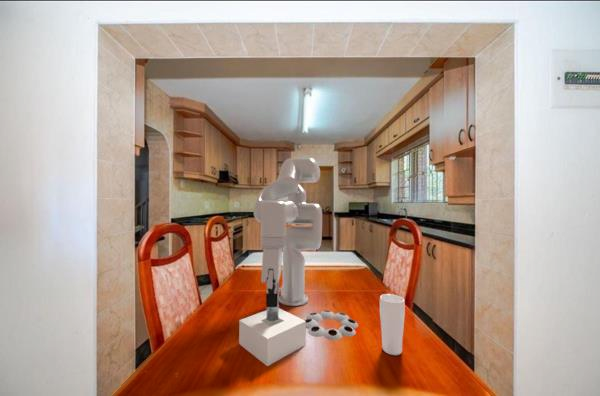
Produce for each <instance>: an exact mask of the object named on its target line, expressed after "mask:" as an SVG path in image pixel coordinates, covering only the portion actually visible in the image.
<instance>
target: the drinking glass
mask: <svg viewBox="0 0 600 396" xmlns="http://www.w3.org/2000/svg"><path fill="white" fill-rule="evenodd" d="M405 304H406V302H405V298H404V297H403V296H400V295H397V294H393V293H384V294H381V295H380V296H379V317H380V330H381V349H382V350H383V352H385V353H387V354H388V355H391V356H399V355H400V354H402V353H403V339H404V338H403V337H404V328H405V327H404V325H405V318H406V317H405V316H406V314H405V313H406V309H405V308H406V306H405Z"/></svg>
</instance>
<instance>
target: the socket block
mask: <svg viewBox="0 0 600 396" xmlns="http://www.w3.org/2000/svg"><path fill="white" fill-rule="evenodd" d="M266 311H267V309H266V310H263V311H260V312H257V313H255V314H252V315H250V316H247V317H245V318H241V319H239V322H238V323H239V325H238V326H239V328H238V329H239V331H238V332H239V333H238V335H239V336H238V344H239V345H240V346H241V347H243V348H244V349H245V350H246V351H247V352H249V353H250V354H252V356H254V357H255V358H256V359H257V360H259V361H260V362H261V363H263V364H264V365H265V366H267V367H269V366H271V365H273V364H274V363H276V362H278V361H280V360H282V359H283V358H285V357H286V356H289V355H291V354H292V353H294V352H296V351H297V350H299V349H301V348H303V347H304V346H305V345H306V342H307V341H306V340H307V339H306V337H307V336H306V335H307V330H306V329H307V328H306V323H307V321H304V320H305V319H302V318H301V317H298V316H296V315H295V314H292V313H290V312H289V311H285V310H284V309H282V308H280V307H279V318H278V320H276V321H268V320H267V319H266Z"/></svg>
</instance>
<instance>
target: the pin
mask: <svg viewBox="0 0 600 396" xmlns="http://www.w3.org/2000/svg"><path fill="white" fill-rule="evenodd" d="M273 282H275V280H273ZM273 286H274V287H275V285H273ZM279 288H280V281H279V282H278V283H277V292H276V293H278V295H277V307H266V310H267V311H266V310H265V311H266V319H267V320H268V321H276V320H278V318H279V308H280V305H279V303H280V302H279V297H280V291H279Z"/></svg>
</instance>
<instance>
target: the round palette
mask: <svg viewBox="0 0 600 396" xmlns="http://www.w3.org/2000/svg"><path fill="white" fill-rule="evenodd" d="M323 319H325V320H331V319H333V320H334V321H337V322H340V325H341V326H340V327H339V328H338V329H336V328H328V329H326V330H325V328H324V327H323V326H321V325H319V323H318V322H321V321H323ZM303 320H304V321H306V329H308V330H307V333H308V334H309V335H310V336H312V337H315V338H316V337H324V338H326V339H328V340H330V341H337V340H340V339H342V337H346V338H347V337H353V336H355V335H356V334H357V331H356V330H355V329H357V328H358V327H359V324H358V323H357V321H356V320H354V319H353V318H350V317H349V315H347V313H344V312H337V313H334V312H333V311H331V310H322V311H321V312H320V313H318V312H311V313H309V314H308V315H307V316H306V319H303ZM313 328H315V329H317V328H318V330H316V331H314V330H312V329H313ZM345 328H349V329H351V330H352V331H348V330H346V329H345ZM331 331H332V332H336V334H335V335H332V334H330V333H329V332H331Z"/></svg>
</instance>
